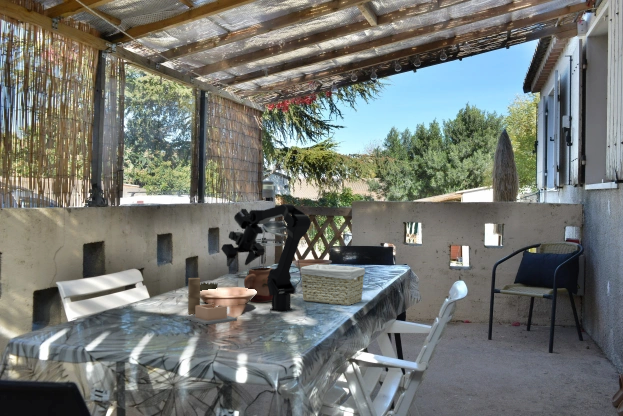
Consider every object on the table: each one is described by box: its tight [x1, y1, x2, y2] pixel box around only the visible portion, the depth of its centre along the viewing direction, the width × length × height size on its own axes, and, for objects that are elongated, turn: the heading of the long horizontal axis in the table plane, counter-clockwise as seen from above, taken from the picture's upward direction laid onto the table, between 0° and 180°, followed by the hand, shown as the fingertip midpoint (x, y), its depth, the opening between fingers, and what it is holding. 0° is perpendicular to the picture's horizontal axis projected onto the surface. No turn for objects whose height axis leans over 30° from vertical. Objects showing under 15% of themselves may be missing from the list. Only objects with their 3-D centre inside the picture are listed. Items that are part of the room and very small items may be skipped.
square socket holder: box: [185, 303, 238, 326], centre depth 213 cm, size 13×13×5 cm
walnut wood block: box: [187, 277, 201, 316], centre depth 224 cm, size 4×4×13 cm
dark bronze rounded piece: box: [200, 282, 219, 291], centre depth 248 cm, size 8×7×8 cm
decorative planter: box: [244, 267, 273, 303], centre depth 252 cm, size 20×12×14 cm, turn 152°
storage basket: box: [300, 263, 366, 306], centre depth 256 cm, size 24×16×15 cm
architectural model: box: [233, 273, 248, 287], centre depth 287 cm, size 20×25×10 cm
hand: (236, 265), depth 255 cm, fingers open, 9 cm apart
